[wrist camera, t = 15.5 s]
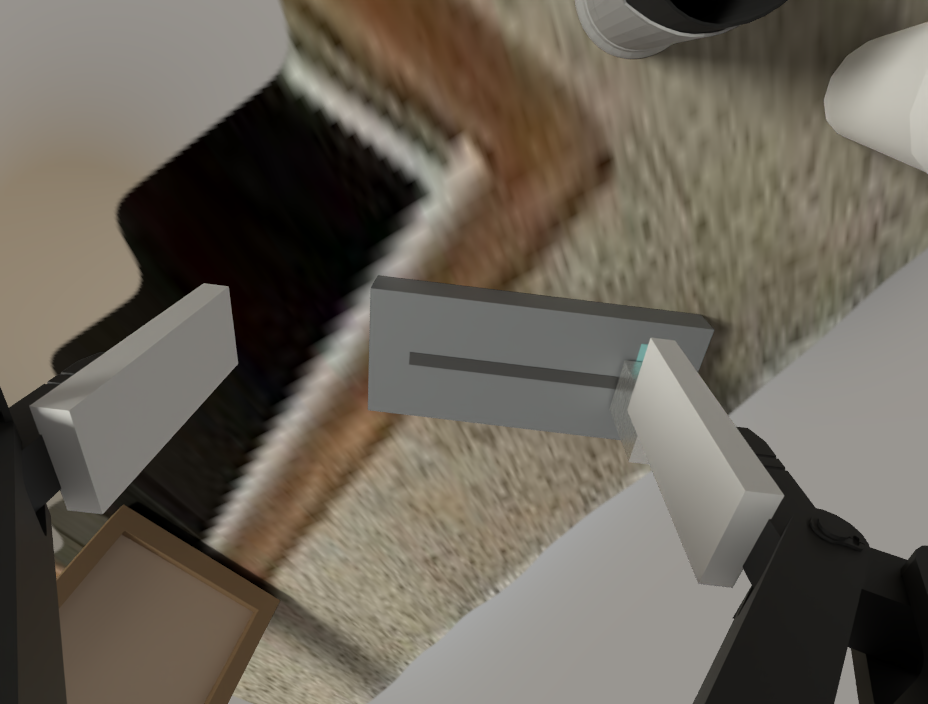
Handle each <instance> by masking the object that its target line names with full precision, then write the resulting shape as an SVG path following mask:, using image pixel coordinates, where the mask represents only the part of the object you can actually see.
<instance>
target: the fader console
mask: <svg viewBox="0 0 928 704" xmlns="http://www.w3.org/2000/svg"><path fill="white" fill-rule="evenodd" d="M713 332H714V329H713V328H712V327H711V325H710V324H709V323H708V322H707V321H706V320H705V319H704V318H703V316H702V315H699V314H691V313H683V312H675V311H666V310H658V309H650V308H642V307H633V306H625V305H617V304H609V303H600V302H592V301H584V300H576V299H568V298H559V297H551V296H543V295H535V294H526V293H518V292H510V291H502V290H493V289H485V288H477V287H469V286H460V285H452V284H444V283H436V282H428V281H419V280H411V279H403V278H395V277H386V276H377V278H376V280H375V282H374V283H373V285H372V287H371V294H370V339H369V384H368V410H372V411H380V412H389V413H397V414H405V415H414V416H422V417H431V418H439V419H447V420H456V421H464V422H473V423H481V424H489V425H498V426H506V427H515V428H523V429H531V430H540V431H548V432H557V433H565V434H573V435H582V436H590V437H599V438H607V439H615V440H621V439H620V437H619V434H618V431H617V428H616V425H615V423H614V420H613V417H612V414H611V411H610V406H611V403H612V399H613V396H614V393H615V390H616V386H617V383H618V380H619V376H620V373H621V370H622V366H623V363H624V360H629V361H637V362H643V360H644V357H645V353H646V350H647V347H648V344H649V341H650V338H659V339H667V340H675V341H676V342H677V344H678V345H679V347H680V348H681V350H682V351H683V352H684V354H685V355H686V357H687V358H688V360H689V361H690V362H691V364H692V365H693V367H694V368H695V369H696V371H697V372H698V371H699V368H700V366H701V363H702V361H703V358H704V355H705V353H706V350H707V348H708V345H709V343H710V340H711V337H712V335H713Z"/></svg>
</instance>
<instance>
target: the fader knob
mask: <svg viewBox="0 0 928 704" xmlns="http://www.w3.org/2000/svg"><path fill="white" fill-rule="evenodd" d="M642 363H643V362H637V361H629V360H624V363H623V366H622V370H621V373H620V376H619V380H618V383H617V386H616V390H615V393H614V396H613V399H612V403H611V406H610V411H611V414H612V417H613V420H614V423H615V425H616V428H617V431H618V434H619V437H620V439H621V442H622V445H623V448H624V451H625V453H626V456H627V459H628V462H634V463H642V464H649V462H648V460H647V457H646V455H645V452H644V450H643V448H642V445H641V443H640V440H639V438H638V435H637V433H636V430H635V428H634V426H633V423H632V421H631V418H630V416H629V413H628V411H627V409H628V406H629V403H630V400H631V397H632V394H633V391H634V388H635V384H636V381H637V378H638V375H639V372H640V369H641V366H642Z"/></svg>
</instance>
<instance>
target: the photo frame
mask: <svg viewBox="0 0 928 704" xmlns="http://www.w3.org/2000/svg"><path fill="white" fill-rule="evenodd" d="M56 583H57V594H58V606H59V617H60V629H61V640H62V652H63V663H64V674H65V686H66V697H67V704H228V702H229V700H230V698H231V696H232V694H233V692H234V690H235V688H236V686H237V684H238V682H239V681H240V679H241V677H242V675H243V673H244V671H245V669H246V667H247V665H248V663H249V661H250V659H251V657H252V655H253V653H254V651H255V649H256V647H257V645H258V643H259V641H260V639H261V637H262V635H263V633H264V631H265V629H266V628H267V626H268V624H269V622H270V620H271V618H272V616H273V614H274V612H275V610H276V608H277V606H278V604H279V602H280V600H278V599H277V598H275V597H274V596H272V595H270V594H269V593H267V592H265V591H264V590H262V589H261V588H259V587H257V586H256V585H254V584H252V583H251V582H249V581H247V580H246V579H244V578H243V577H241V576H239V575H238V574H236V573H234V572H233V571H231V570H230V569H228V568H226V567H225V566H223V565H221V564H220V563H218V562H216V561H215V560H213V559H212V558H210V557H208V556H207V555H205V554H203V553H202V552H200V551H199V550H197V549H195V548H194V547H192V546H190V545H189V544H187V543H185V542H184V541H182V540H181V539H179V538H177V537H176V536H174V535H172V534H171V533H169V532H168V531H166V530H164V529H163V528H161V527H159V526H158V525H156V524H154V523H153V522H151V521H150V520H148V519H146V518H145V517H143V516H141V515H140V514H138V513H137V512H135V511H133V510H132V509H130V508H128V507H127V506H125V505H123V506H122V507H121V508H119V509H118V510H117V511H116V512H115V513H114V514H113V515H112V516H111V517H110V518H109V520H108V521H107V522H106V523H105V524H104V525H103V526H102V527H101V529H100V530H99V531H98V532H97V533H96V534H95V535H94V537H93V538H92V539H91V540H90V541H89V542H88V543H87V544H86V546H85V547H84V548H83V549H82V550H81V551H80V552H79V553H78V555H77V556H76V557H75V558H74V559H73V560H72V561H71V562H70V564H69V565H68V566H67V567H66V568H65V569H64V570H63V571H62V573H61V574H60V575H59V576H58V577H57V578H56Z"/></svg>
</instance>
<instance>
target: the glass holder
mask: <svg viewBox="0 0 928 704" xmlns="http://www.w3.org/2000/svg"><path fill="white" fill-rule="evenodd" d="M786 1H787V0H575V6H576V9H577V13H578V17H579V20H580V22H581V24H582V27H583V29H584V31H585V32H586V34H587V35H588V37H589V38H590V39H591V40H592V41H593V42H594V43H595V44H596V45H597V46H598V47H599V48H600V49H602V50H603V51H605V52H607V53H608V54H611V55H614V56H616V57H620V58H627V59H636V58H643V57H648V56H652V55H654V54H656V53H658V52H661V51H663V50H664V49H666V48H667V47H669V46H671V45H672V44H675V43H680V42H685V41H690V40H694V39H699V38H704V37H709V36H715V35H719V34H722V33H725V32H727V31H729V30H731V29H734V28H736V27H738V26H739V25H742V24H746V23H750V22H752V21H754V20H757V19H759V18H761V17H763V16H766V15H767V14H769V13H770V12H772V11H773V10H775V9H777V8H778V7H780V6H781V5H783V4H784V3H785V2H786Z"/></svg>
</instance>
